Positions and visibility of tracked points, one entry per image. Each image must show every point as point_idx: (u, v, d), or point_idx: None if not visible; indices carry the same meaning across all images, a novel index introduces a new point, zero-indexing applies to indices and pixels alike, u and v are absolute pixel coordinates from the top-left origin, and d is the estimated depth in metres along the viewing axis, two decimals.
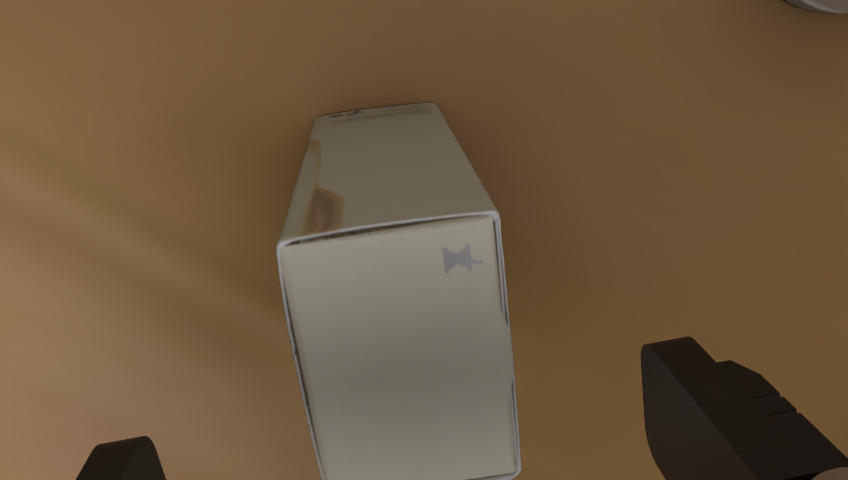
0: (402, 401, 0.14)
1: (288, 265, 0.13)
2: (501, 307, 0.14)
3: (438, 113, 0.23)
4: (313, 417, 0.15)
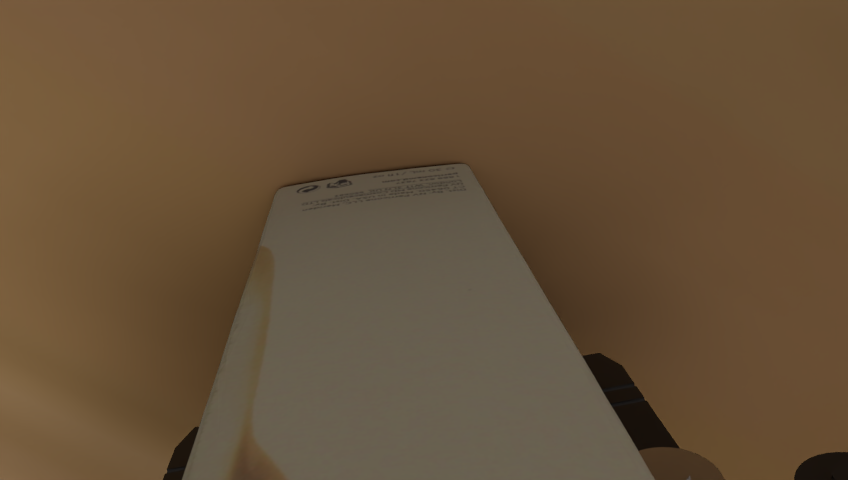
0: None
1: None
2: None
3: (478, 191, 0.13)
4: None
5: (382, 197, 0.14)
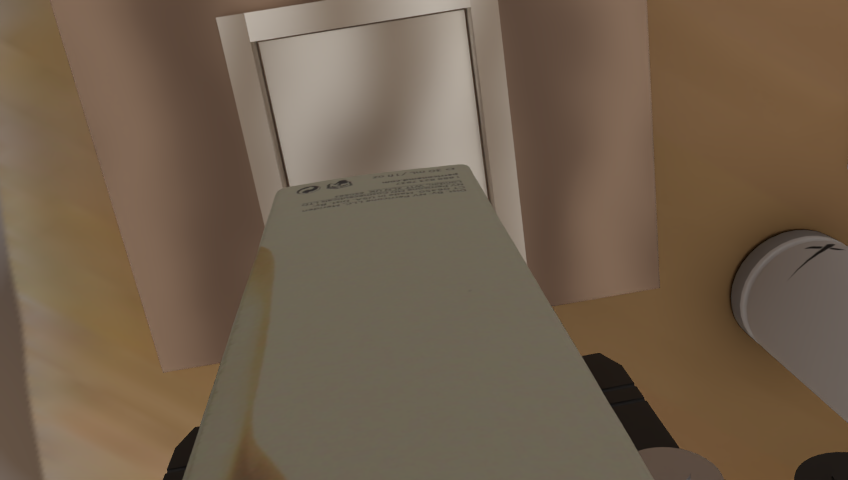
0: None
1: None
2: None
3: (478, 192, 0.13)
4: None
5: (382, 198, 0.14)
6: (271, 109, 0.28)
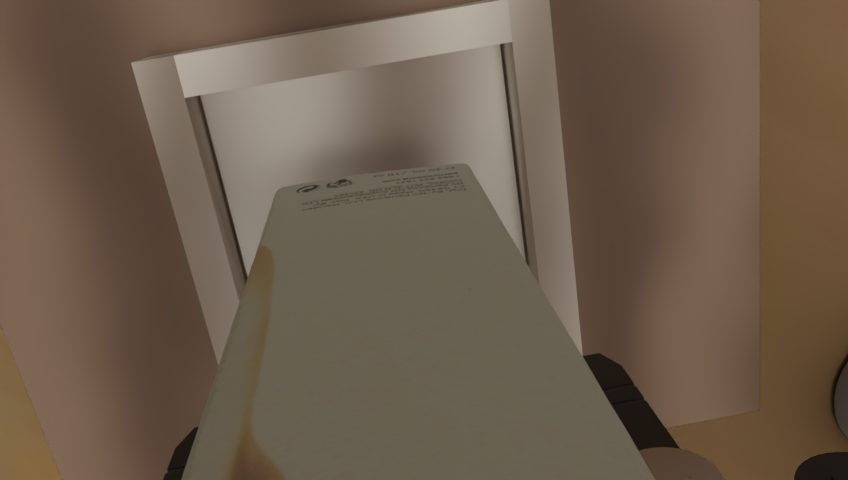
0: None
1: None
2: None
3: (478, 191, 0.13)
4: None
5: (382, 197, 0.14)
6: (222, 187, 0.20)
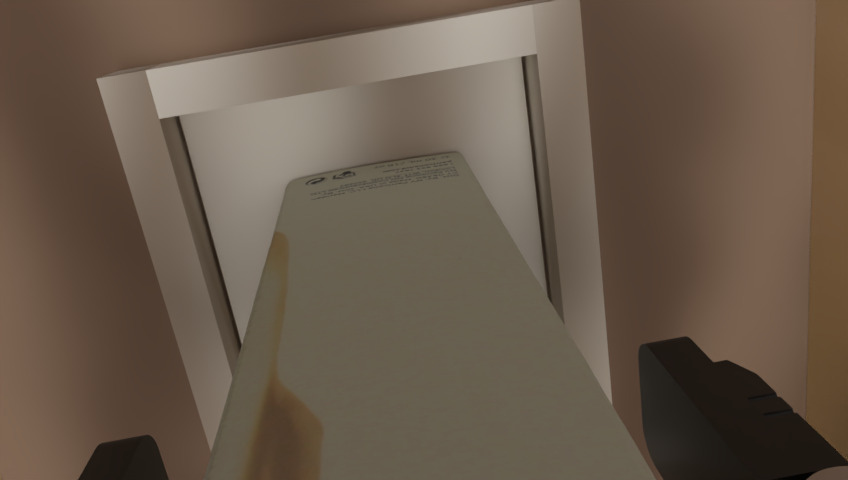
0: None
1: None
2: None
3: (470, 176, 0.15)
4: None
5: (383, 185, 0.15)
6: (205, 218, 0.17)
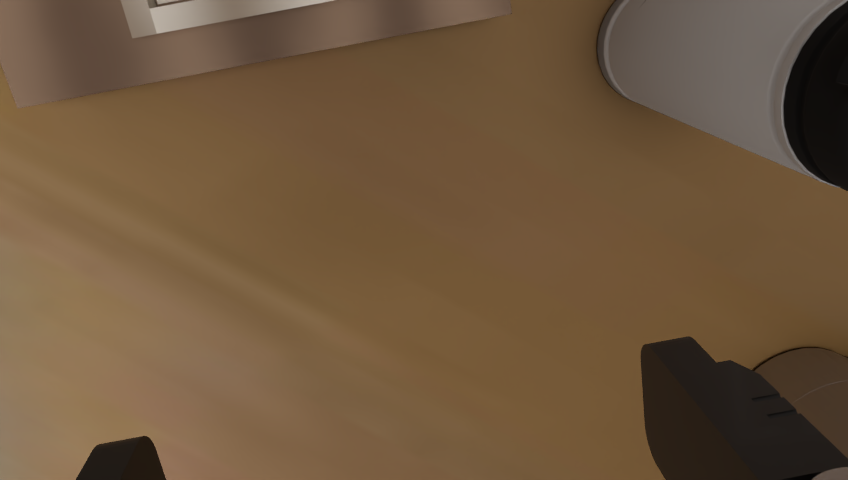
0: None
1: None
2: None
3: None
4: None
5: None
6: None
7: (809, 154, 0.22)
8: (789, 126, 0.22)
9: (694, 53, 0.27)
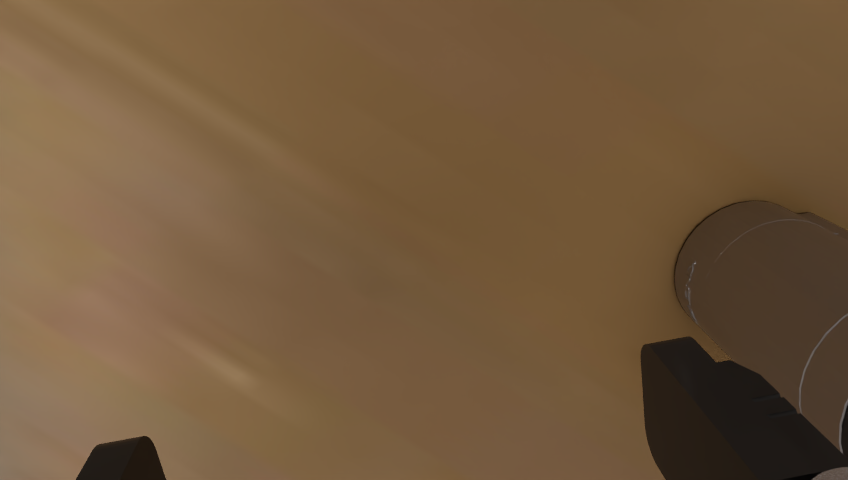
0: None
1: None
2: None
3: None
4: None
5: None
6: None
7: None
8: None
9: None
